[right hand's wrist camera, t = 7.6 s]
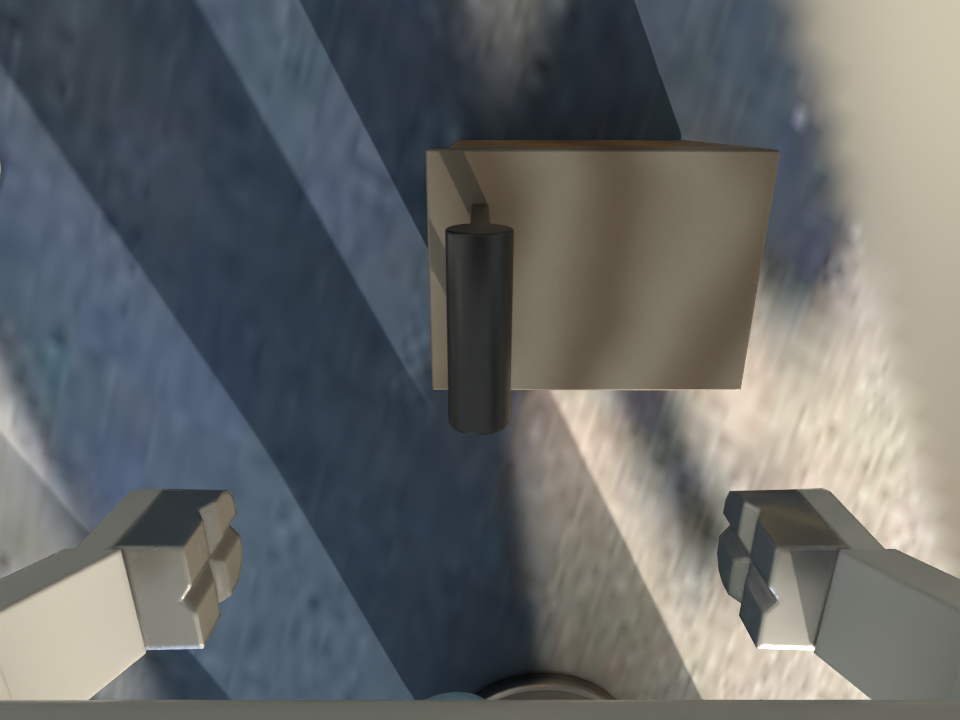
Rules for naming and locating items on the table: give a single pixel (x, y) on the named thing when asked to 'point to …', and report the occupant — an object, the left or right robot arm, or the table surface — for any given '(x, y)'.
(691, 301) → the lid
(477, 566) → the table surface
